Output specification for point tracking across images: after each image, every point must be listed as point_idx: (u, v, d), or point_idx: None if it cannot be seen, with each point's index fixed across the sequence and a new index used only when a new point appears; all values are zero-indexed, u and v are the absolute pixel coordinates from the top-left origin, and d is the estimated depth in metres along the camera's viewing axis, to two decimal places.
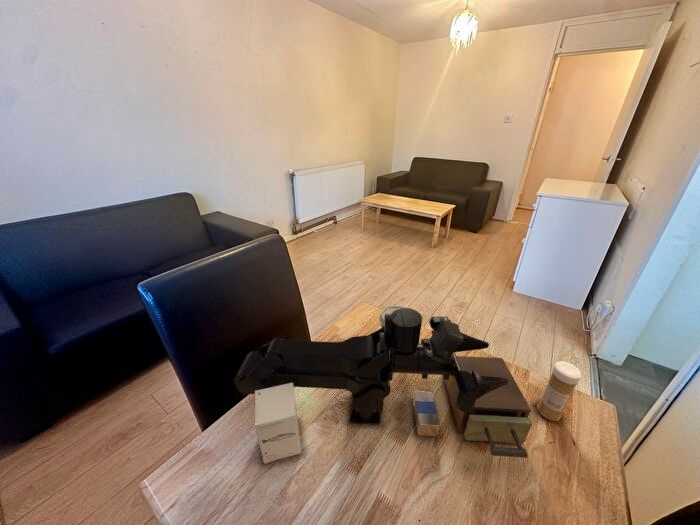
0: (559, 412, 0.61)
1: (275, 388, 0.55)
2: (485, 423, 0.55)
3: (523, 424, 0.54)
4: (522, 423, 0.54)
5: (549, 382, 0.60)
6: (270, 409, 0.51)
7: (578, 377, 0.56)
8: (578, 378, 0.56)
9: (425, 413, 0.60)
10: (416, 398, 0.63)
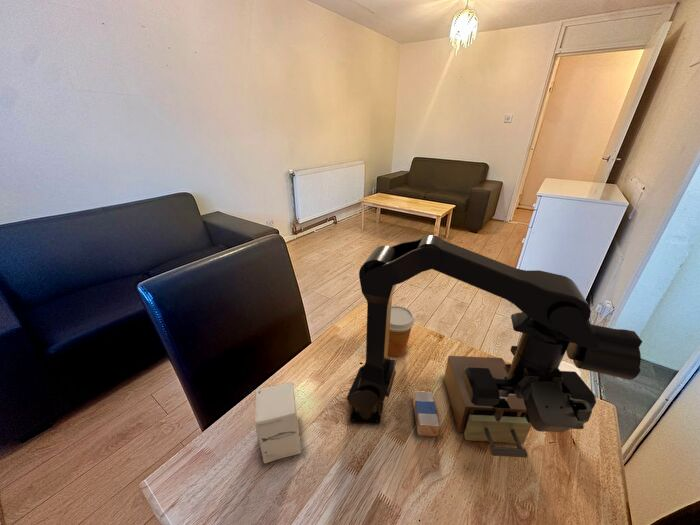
0: None
1: (275, 387, 0.55)
2: (485, 423, 0.55)
3: (523, 424, 0.54)
4: (522, 423, 0.54)
5: None
6: (270, 407, 0.51)
7: None
8: None
9: (425, 413, 0.60)
10: (416, 398, 0.63)
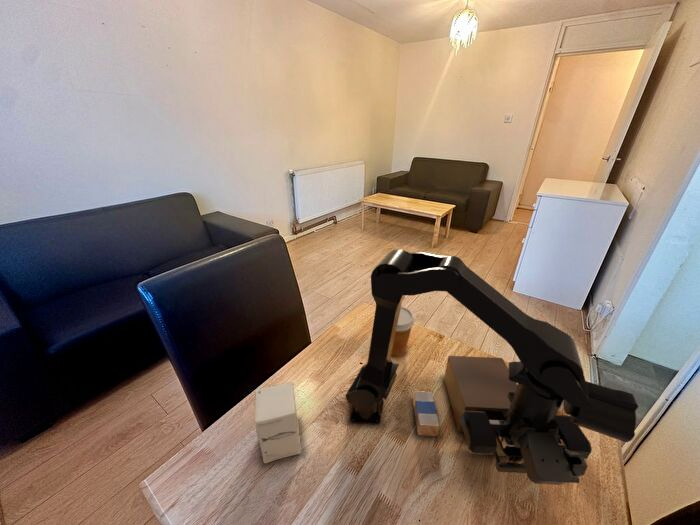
0: (559, 412, 0.61)
1: (275, 387, 0.55)
2: None
3: None
4: None
5: None
6: (270, 407, 0.51)
7: None
8: None
9: (425, 413, 0.60)
10: (416, 398, 0.63)
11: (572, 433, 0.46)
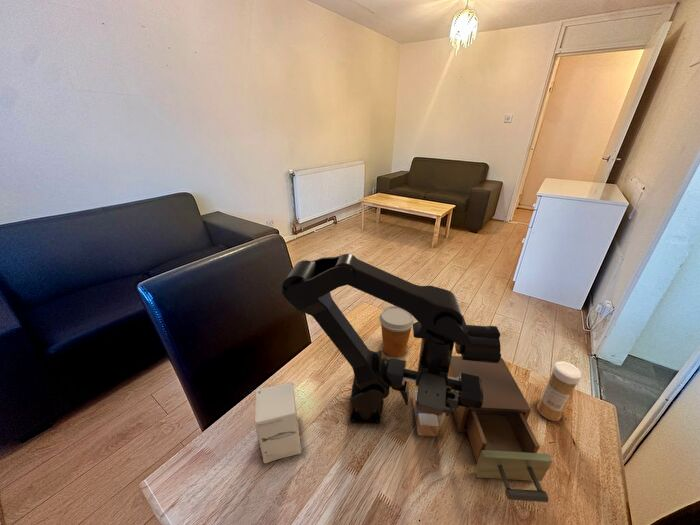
0: (559, 412, 0.61)
1: (275, 387, 0.55)
2: (499, 460, 0.49)
3: (542, 462, 0.48)
4: (541, 460, 0.48)
5: (549, 382, 0.60)
6: (270, 407, 0.51)
7: (578, 377, 0.56)
8: (578, 378, 0.56)
9: (425, 413, 0.60)
10: (416, 398, 0.63)
11: (470, 386, 0.54)
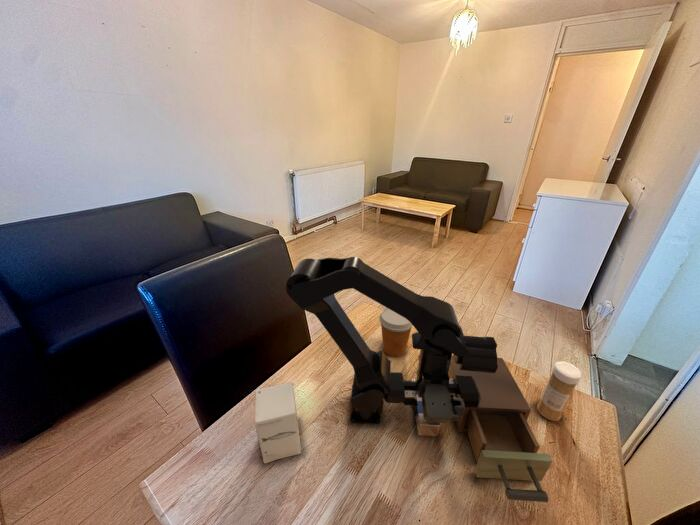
0: (559, 412, 0.61)
1: (275, 387, 0.55)
2: (499, 460, 0.49)
3: (542, 462, 0.48)
4: (541, 460, 0.48)
5: (549, 382, 0.60)
6: (270, 407, 0.51)
7: (578, 377, 0.56)
8: (578, 378, 0.56)
9: None
10: None
11: (467, 387, 0.56)
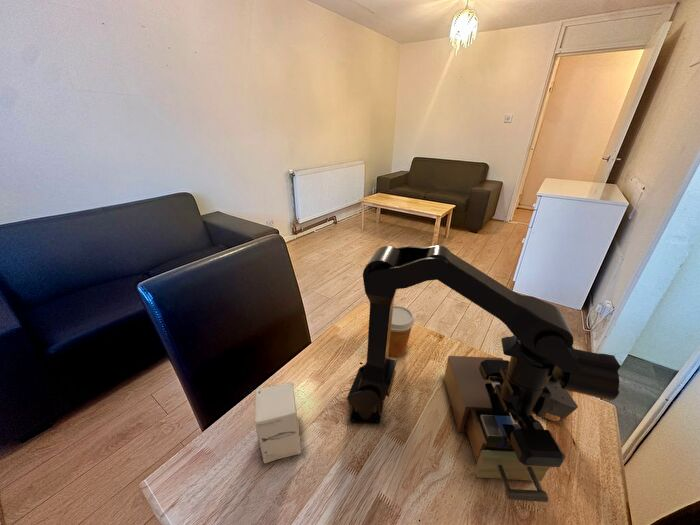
0: None
1: (275, 387, 0.55)
2: (499, 460, 0.49)
3: None
4: None
5: None
6: (270, 407, 0.51)
7: None
8: None
9: None
10: (498, 435, 0.51)
11: (504, 366, 0.55)
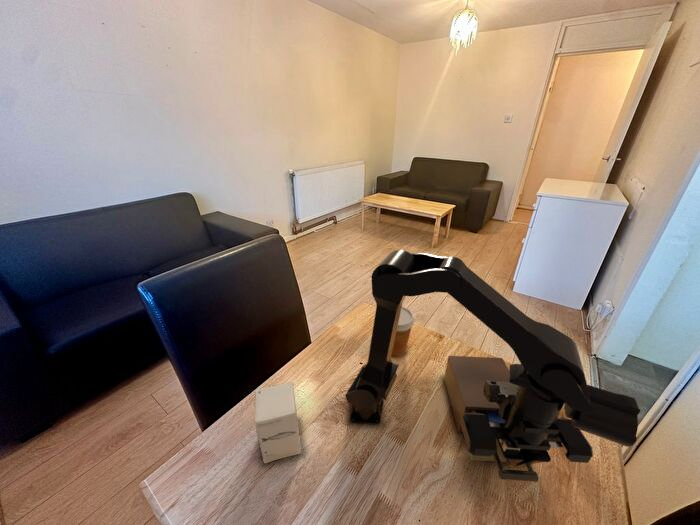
0: None
1: (275, 387, 0.55)
2: None
3: None
4: None
5: None
6: (270, 407, 0.51)
7: None
8: None
9: None
10: None
11: (479, 422, 0.48)
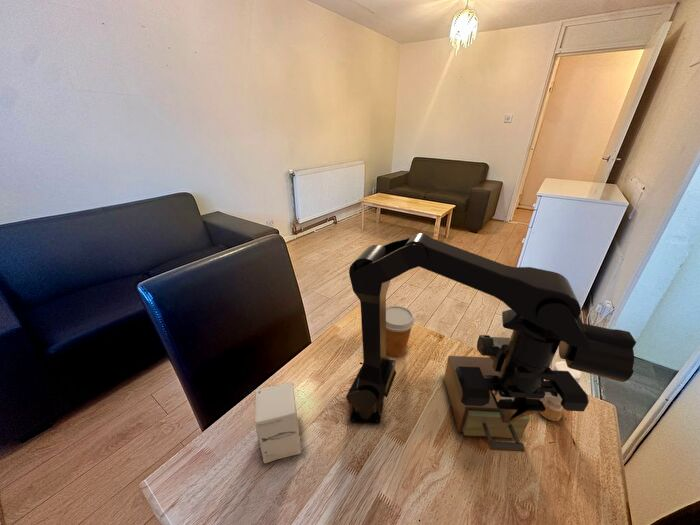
0: (559, 412, 0.61)
1: (275, 387, 0.55)
2: (483, 419, 0.56)
3: (520, 420, 0.55)
4: (520, 418, 0.55)
5: None
6: (270, 407, 0.51)
7: (578, 377, 0.56)
8: (578, 378, 0.56)
9: None
10: None
11: (471, 373, 0.46)
